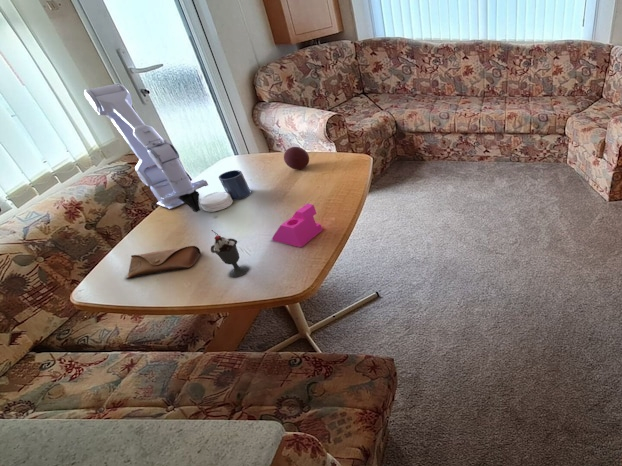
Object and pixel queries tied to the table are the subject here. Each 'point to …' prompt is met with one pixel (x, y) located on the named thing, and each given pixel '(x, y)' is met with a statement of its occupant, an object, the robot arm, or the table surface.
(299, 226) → the bracket
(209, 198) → the white round dish
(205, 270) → the table surface
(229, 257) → the sundae
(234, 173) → the cup
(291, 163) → the decorative ball
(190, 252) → the sunglasses case
